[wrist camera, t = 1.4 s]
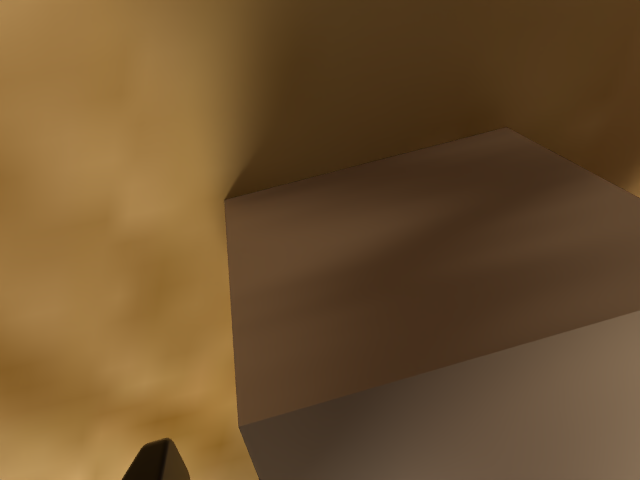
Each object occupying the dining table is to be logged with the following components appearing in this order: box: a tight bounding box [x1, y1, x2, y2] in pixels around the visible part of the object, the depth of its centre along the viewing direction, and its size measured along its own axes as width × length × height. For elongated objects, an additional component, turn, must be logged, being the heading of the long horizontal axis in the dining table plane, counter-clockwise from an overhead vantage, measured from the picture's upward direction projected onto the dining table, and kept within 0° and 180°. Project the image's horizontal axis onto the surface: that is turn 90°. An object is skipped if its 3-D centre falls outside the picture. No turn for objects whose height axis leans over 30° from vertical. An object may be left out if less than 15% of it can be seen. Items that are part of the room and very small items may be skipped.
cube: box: [224, 127, 640, 480], centre depth 9 cm, size 6×6×6 cm
